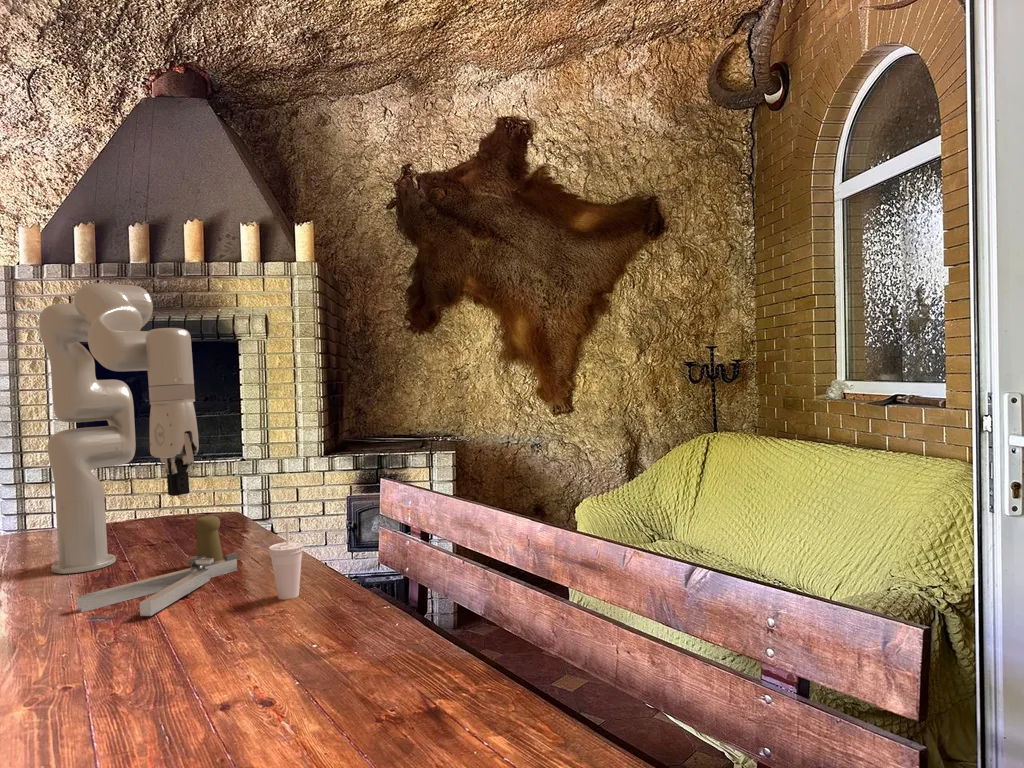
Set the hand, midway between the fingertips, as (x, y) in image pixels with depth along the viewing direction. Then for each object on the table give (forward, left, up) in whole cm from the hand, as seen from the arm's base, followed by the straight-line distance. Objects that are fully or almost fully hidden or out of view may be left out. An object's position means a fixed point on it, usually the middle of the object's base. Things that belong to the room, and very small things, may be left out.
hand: (179, 494), depth 128 cm
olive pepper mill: (-23, +16, -21) cm, 35 cm away
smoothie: (+12, +14, -21) cm, 28 cm away
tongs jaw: (-7, +1, -20) cm, 22 cm away
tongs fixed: (-14, +3, -21) cm, 25 cm away
